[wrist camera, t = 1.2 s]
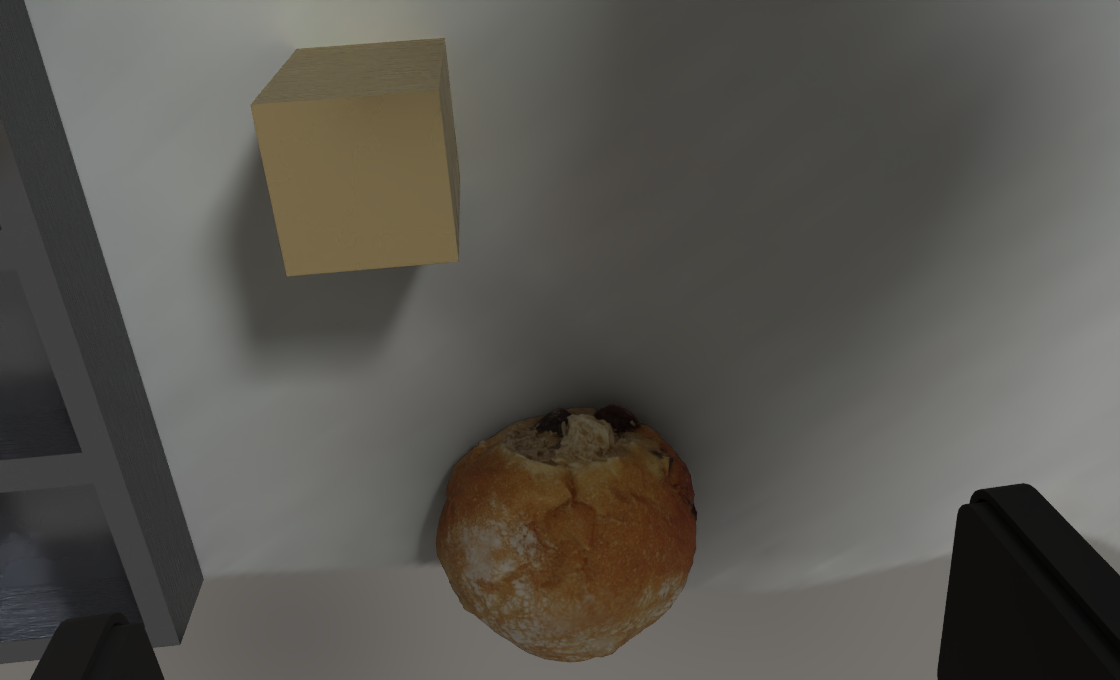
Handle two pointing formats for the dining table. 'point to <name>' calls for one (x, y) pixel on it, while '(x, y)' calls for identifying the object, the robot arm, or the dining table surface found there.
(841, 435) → the dining table surface
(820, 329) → the dining table surface
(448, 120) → the tan cubic block
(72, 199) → the grey compartment tray
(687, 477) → the bread roll
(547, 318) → the dining table surface
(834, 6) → the dining table surface
